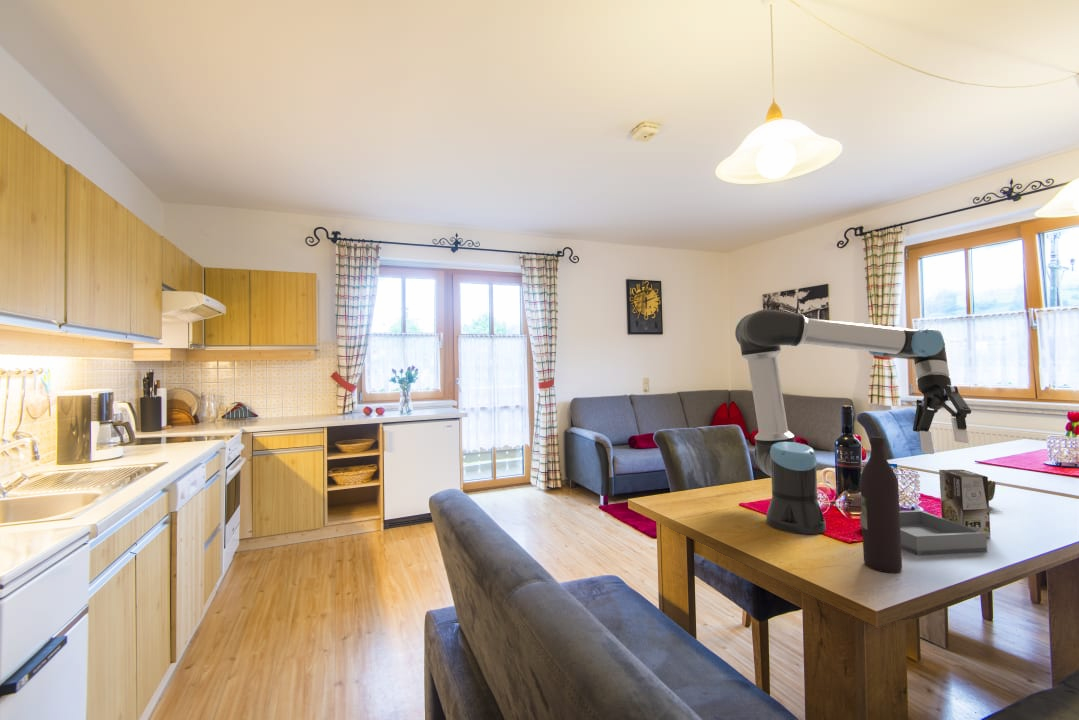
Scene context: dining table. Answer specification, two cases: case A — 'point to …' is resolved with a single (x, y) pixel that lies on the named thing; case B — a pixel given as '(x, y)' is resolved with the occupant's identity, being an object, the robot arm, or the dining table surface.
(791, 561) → the dining table surface
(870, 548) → the wine bottle
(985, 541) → the tray
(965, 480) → the coffee box
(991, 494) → the cup
